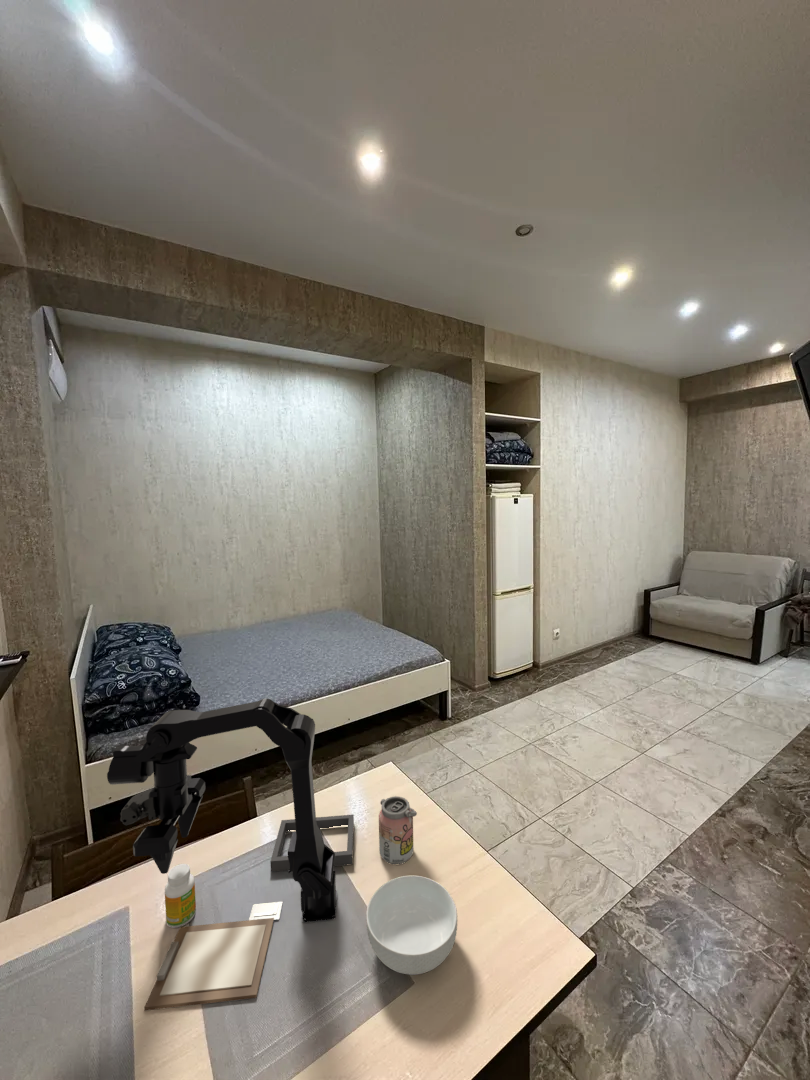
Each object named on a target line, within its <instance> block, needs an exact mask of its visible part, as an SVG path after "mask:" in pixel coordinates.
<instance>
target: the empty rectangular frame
mask: <svg viewBox="0 0 810 1080" xmlns="http://www.w3.org/2000/svg"><path fill="white" fill-rule="evenodd" d="M354 817H355V815H354V813H352V814H344V815H343V814H342V815H330V816H319V817H317V816H316V823H317V826H318V827H319V829H320V828H329V827H333V826H341V825H348V827H347V840H346V841H347V842H346V845H347V846H346V850H342V851H341V850H340V851H334V852H335V859H334V867H341V866H348V865H347V864H352V865H353V858H352V856H353V855H354V854H353V853H354V852H353V851H354V831H353V827H354V826H355V822H354ZM354 828H355V827H354ZM288 830H289V831H290V830H296V825H295V818H293V819H290V818H289V819H282V820H281V822H280V825H279V828H278V832H277V836H276V840H275V843H274V847H273V850H272V854H271V858H270V872H271V873H272V872H274V873H275V872H284V871H289V868H290V863H289V859H288V855H282V856H281V854H282V849H283V845H284V842H285V837H286V834H285V833H287V832H286V831H288Z"/></svg>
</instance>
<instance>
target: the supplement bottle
mask: <svg viewBox="0 0 810 1080" xmlns="http://www.w3.org/2000/svg"><path fill="white" fill-rule="evenodd" d="M196 900H197V899H196V883H195V876H194V875H193V873H191V867H190V865H189V864H188V863H179V864H177V865H174V866H172V868H170V869H169V870H168V872H167V882H166V884H165V887H164V904H165V920H166V921H165V922H166V925H167V926H168V927H169V928H173V929H174V928H175V929H177V928H180V927H184V926H185V925H187V924H188V923H189V922H191V920H192V919H193V918H194V917H195V915H196V911H197V903H196Z"/></svg>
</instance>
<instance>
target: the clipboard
mask: <svg viewBox="0 0 810 1080" xmlns="http://www.w3.org/2000/svg"><path fill="white" fill-rule="evenodd" d="M274 922H275V921H274V918H267V919H257V920H249V919H248V920H240V921H239V920H238V921H230V922H228V921H227V922H218V923H217V922H216V923H208V924H207V923H206V924H198V925H188V926H181V927H178V928H179V929H178V931H177V933H176V935H175V938H174V940H173V941H172V942H171V943H170V946H169V948H168V950H167V953H166V954H165V957H164V959H163V961H162V964H161V965H160V968H159V969H158V972H157V974H156V980H155V982H154V985H153V986H152V988H151V991H150V994H149V996H148V997H147V1000H146V1003H145V1005H144V1007H143V1010H144V1011H151V1010H152V1011H153V1010H154V1011H155V1010H161V1009H162V1010H163V1009H169V1008H179V1007H189V1006H197V1005H204V1004H205V1005H207V1004H214V1003H224V1002H232V1001H241V1000H250V999H257V997H258V993H259V989H260V985H261V979H262V976H263V971H264V966H265V962H266V958H267V952H268V949H269V945H270V944H269V943H270V940H271V936H272V932H273V927H274Z"/></svg>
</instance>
